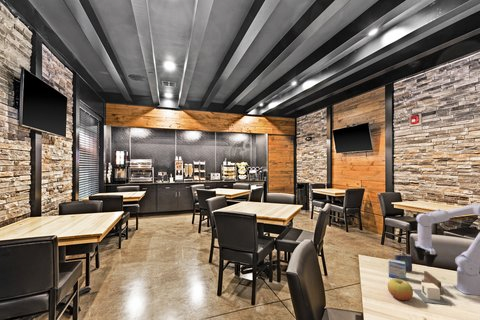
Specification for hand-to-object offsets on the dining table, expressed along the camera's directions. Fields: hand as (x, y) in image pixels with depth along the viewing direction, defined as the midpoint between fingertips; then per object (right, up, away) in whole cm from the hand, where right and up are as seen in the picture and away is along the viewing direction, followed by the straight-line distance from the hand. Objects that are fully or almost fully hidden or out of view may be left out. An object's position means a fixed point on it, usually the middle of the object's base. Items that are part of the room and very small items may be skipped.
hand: (425, 263), depth 121 cm
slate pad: (-8, -10, -13) cm, 18 cm away
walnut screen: (0, -10, -4) cm, 11 cm away
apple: (-22, -10, -13) cm, 28 cm away
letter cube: (-8, -10, -13) cm, 18 cm away
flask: (-1, -11, +15) cm, 19 cm away
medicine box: (-10, -11, +7) cm, 16 cm away
